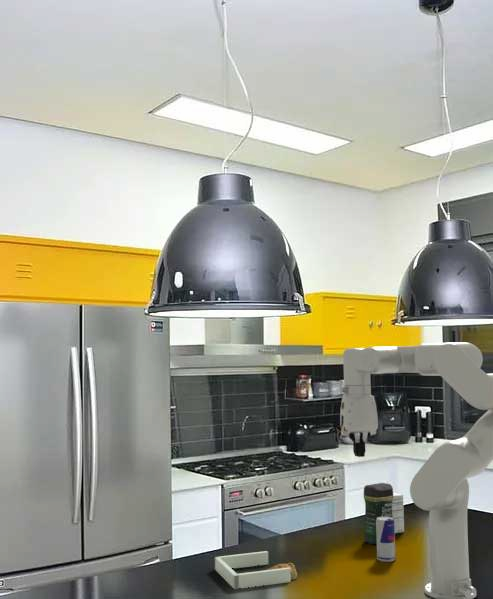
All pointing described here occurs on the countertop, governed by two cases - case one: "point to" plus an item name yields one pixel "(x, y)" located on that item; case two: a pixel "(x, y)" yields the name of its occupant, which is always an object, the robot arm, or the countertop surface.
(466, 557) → the robot arm
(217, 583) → the countertop surface
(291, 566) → the pastry
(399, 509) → the supplement box
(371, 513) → the coffee jar
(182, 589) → the countertop surface
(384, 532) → the energy drink
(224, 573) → the c-shaped clip
